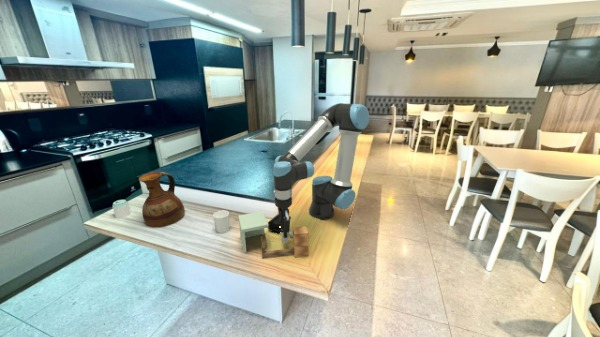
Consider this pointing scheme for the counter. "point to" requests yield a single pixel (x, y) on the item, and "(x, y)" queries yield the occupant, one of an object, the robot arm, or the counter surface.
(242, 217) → the cubby shelf
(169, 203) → the ceramic pitcher
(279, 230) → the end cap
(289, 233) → the stop strip
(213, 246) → the counter surface
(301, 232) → the wooden desk organizer
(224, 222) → the white cup
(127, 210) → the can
